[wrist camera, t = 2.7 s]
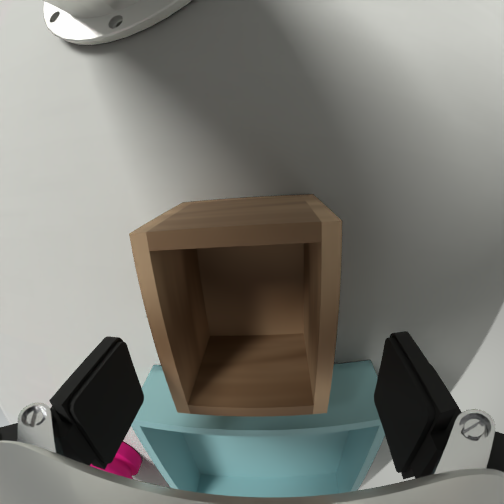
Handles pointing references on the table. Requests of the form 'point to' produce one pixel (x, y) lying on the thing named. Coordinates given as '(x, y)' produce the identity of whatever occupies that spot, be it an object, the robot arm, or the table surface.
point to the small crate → (243, 303)
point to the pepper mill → (124, 462)
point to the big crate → (265, 442)
